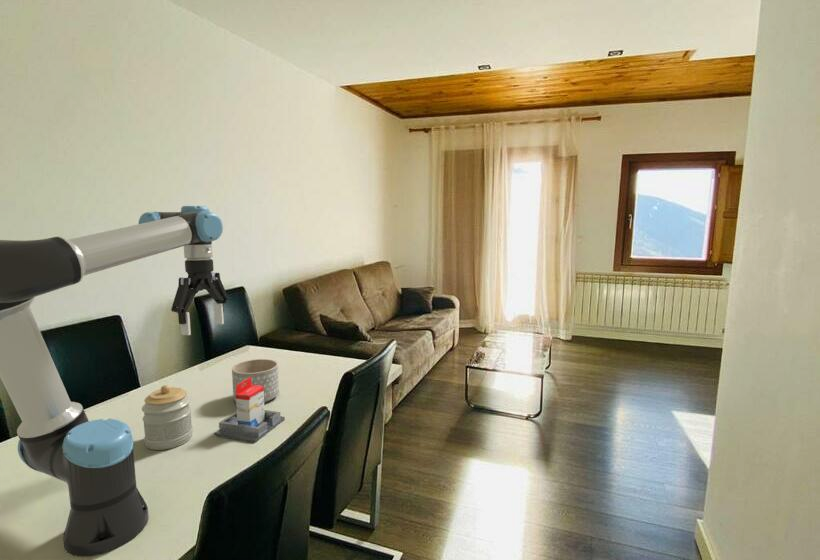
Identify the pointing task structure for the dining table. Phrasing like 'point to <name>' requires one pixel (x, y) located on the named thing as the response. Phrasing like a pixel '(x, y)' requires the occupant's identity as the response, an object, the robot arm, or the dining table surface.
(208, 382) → the dining table surface
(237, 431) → the fixture tray
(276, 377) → the planter
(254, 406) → the ink box
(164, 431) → the jar
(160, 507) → the dining table surface
